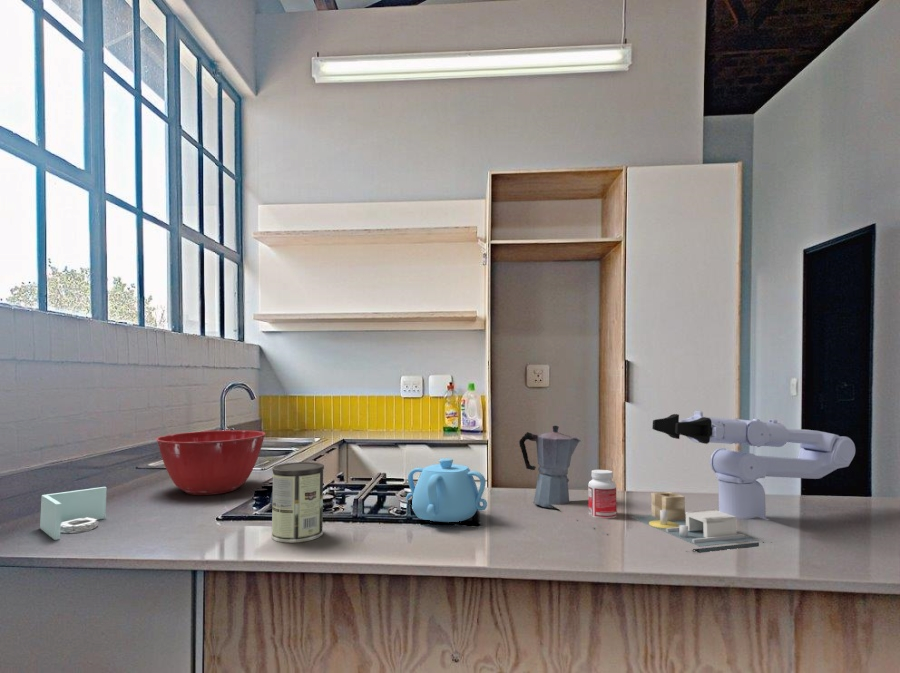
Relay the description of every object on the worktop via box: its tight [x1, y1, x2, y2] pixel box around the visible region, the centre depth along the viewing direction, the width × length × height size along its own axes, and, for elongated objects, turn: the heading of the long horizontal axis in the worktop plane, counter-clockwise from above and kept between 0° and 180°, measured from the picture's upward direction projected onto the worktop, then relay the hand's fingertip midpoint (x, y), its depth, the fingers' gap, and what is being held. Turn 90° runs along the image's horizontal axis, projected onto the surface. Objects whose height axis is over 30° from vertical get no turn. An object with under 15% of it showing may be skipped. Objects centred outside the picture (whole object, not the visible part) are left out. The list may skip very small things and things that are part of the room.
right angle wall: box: [39, 486, 108, 541], centre depth 119 cm, size 12×12×8 cm
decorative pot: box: [405, 457, 488, 523], centre depth 128 cm, size 16×16×14 cm
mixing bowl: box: [156, 429, 266, 496], centre depth 157 cm, size 28×28×15 cm
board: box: [630, 510, 760, 554], centre depth 117 cm, size 14×22×4 cm, turn 17°
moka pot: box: [518, 425, 581, 509], centre depth 141 cm, size 10×15×20 cm, turn 89°
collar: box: [650, 491, 686, 521], centre depth 125 cm, size 5×5×5 cm
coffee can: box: [271, 461, 325, 544], centre depth 115 cm, size 10×10×14 cm
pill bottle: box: [587, 469, 618, 520], centre depth 127 cm, size 6×6×11 cm
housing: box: [685, 509, 737, 538], centre depth 113 cm, size 7×6×4 cm
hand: (664, 426), depth 124 cm, fingers open, 7 cm apart
